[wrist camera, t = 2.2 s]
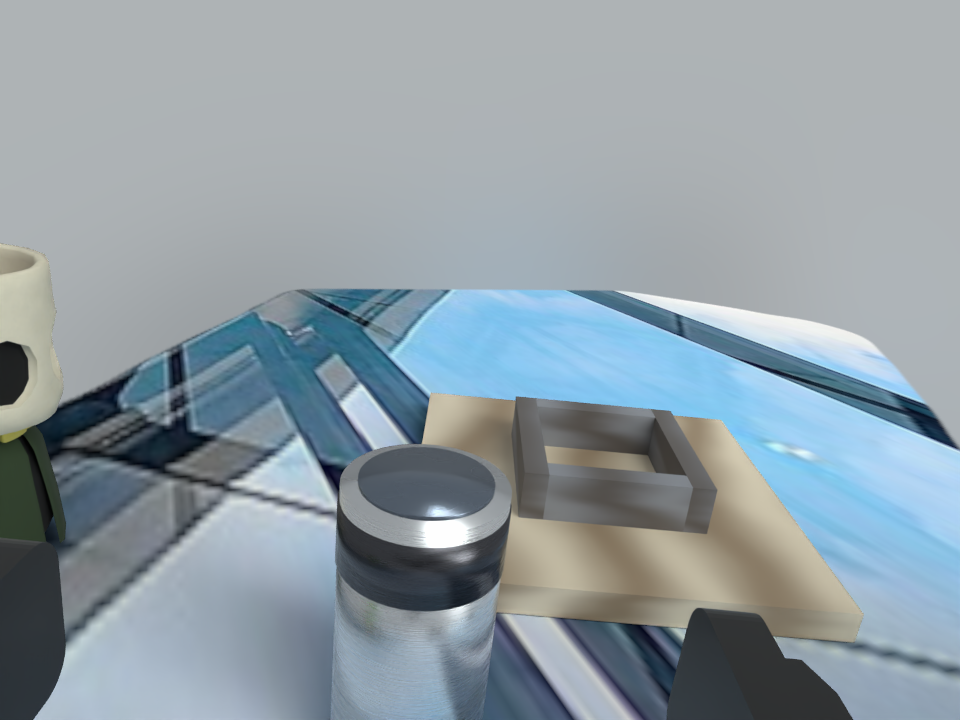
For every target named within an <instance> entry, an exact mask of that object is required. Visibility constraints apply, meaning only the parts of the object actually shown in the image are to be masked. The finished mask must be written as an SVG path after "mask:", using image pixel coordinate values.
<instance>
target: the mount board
mask: <svg viewBox="0 0 960 720" xmlns="http://www.w3.org/2000/svg"><path fill="white" fill-rule="evenodd" d="M422 444H429V445H439V446H446V447H451V448H455V449H459V450H463V451H466V452H469V453H472V454H474V455H477V456H479V457H481V458H483V459H485V460H487V461H489V462H490V463H492V464H493V465H495V466H496V467H497V468H499V469H500V470H501V471H502V472H503V473H504V474H505V476H506V477H507V479H508V480H509V482H510V485H511V489H512V497H511V505H512V508H511V518H510V525H509V533H508V540H507V548H506V555H505V563H504V570H503V573H502V576H501V580H500V588H499V595H498V603H497V611H496V612H499V613H511V614H522V615H534V616H546V617H558V618H570V619H581V620H593V621H605V622H617V623H629V624H641V625H652V626H664V627H676V628H687V627H688V623H689V619H690V617H691V615H692V613H693V611H694V610H695V609H696V608H708V609H718V610H729V611H739V612H749V613H757V614H758V615H760V616H761V617H762V618H763V620H764V622H765V623H766V625H767V627H768V629H769V630H770V632H771V634H772V636H782V637H794V638H806V639H818V640H829V641H841V642H853V643H854V642H855V639H856V636H857V634H858V631H859V628H860V625H861V622H862V619H863V616H864V614H863V613H862V611H861V610H860V608H859V607H858V606H857V604H856V603H855V602H854V600H853V599H852V598H851V596H850V595H849V594H848V592H847V591H846V589H845V588H844V587H843V585H842V584H841V583H840V581H839V580H838V579H837V577H836V576H835V574H834V573H833V572H832V570H831V569H830V568H829V566H828V565H827V564H826V562H825V561H824V560H823V558H822V557H821V555H820V554H819V553H818V551H817V550H816V549H815V547H814V546H813V545H812V543H811V542H810V540H809V539H808V538H807V536H806V535H805V534H804V532H803V531H802V530H801V528H800V527H799V525H798V524H797V523H796V521H795V520H794V519H793V517H792V516H791V515H790V513H789V512H788V511H787V509H786V508H785V506H784V505H783V504H782V502H781V501H780V500H779V498H778V497H777V496H776V494H775V493H774V491H773V490H772V489H771V487H770V486H769V485H768V483H767V482H766V481H765V479H764V478H763V476H762V475H761V474H760V472H759V471H758V470H757V468H756V467H755V466H754V464H753V463H752V462H751V460H750V459H749V457H748V456H747V455H746V453H745V452H744V451H743V449H742V448H741V447H740V445H739V444H738V442H737V441H736V440H735V438H734V437H733V436H732V434H731V433H730V432H729V430H728V429H727V428H726V426H725V425H724V423H723V422H722V421H721V420H715V419H704V418H694V417H683V416H673V414H672V413H671V411H664V410H654V409H643V408H632V407H622V406H611V405H601V404H590V403H579V402H569V401H558V400H548V399H537V398H526V397H516V401H513V400H503V399H492V398H481V397H471V396H460V395H450V394H439V393H431V394H430V400H429V406H428V412H427V418H426V424H425V430H424V435H423V441H422Z"/></svg>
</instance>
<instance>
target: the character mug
mask: <svg viewBox="0 0 960 720" xmlns="http://www.w3.org/2000/svg"><path fill="white" fill-rule="evenodd" d="M55 316H56V308H55V304H54V299H53V293H52V282H51V273H50V267H49V261H48V260H47V258H46V256H45V255H44V254H42V253H40V252H37V251H34V250H31V249H29V248H25V247H19V246H12V245H7V244H2V243H0V538H8V539H18V540H29V541H39V542H46V538H45V533H44V532H46V530H47V528H48V526H49V524H50V521H51V519H52V517H53V515H54V518H55V523H56V527H57V531H58V535H59V540H60V543H61V542H62V541H63V540H64V539H65V529H66V521H65V517H64V512H63V508H62V503H61V499H60V494H59V490H58V485H57V482H56V479H55V475H54V472H53V469H52V465H51V462H50V459H49V455H48V452H47V448H46V445H45V442H44V438H43V435H42V433H41V432H40V431H39V430H38V428H37V427H36V426H35V425H37V424H39V423H41V422H43V421H44V420H46V419H48V418H49V417H50V416H52V415H53V414H54V413H55V412H56V409H57V407H58V404H59V401H60V399H61V396H62V393H63V375H62V371H61V368H60V365H59V362H58V360H57V356H56V354H55V351H54V348H53V343H52V330H53V326H54V321H55Z"/></svg>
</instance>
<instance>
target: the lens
mask: <svg viewBox="0 0 960 720" xmlns="http://www.w3.org/2000/svg"><path fill="white" fill-rule="evenodd" d="M511 497H512V489H511V485H510V482H509V480H508V479H507V477H506V476H505V474H504V473H503V472H502V471H501V470H500V469H499V468H497V467H496V466H495V465H493V464H492V463H490V462H489V461H487V460H485V459H483V458H481V457H479V456H477V455H474V454H472V453H469V452H466V451H463V450H459V449H455V448H451V447H446V446H439V445H429V444H405V445H395V446H389V447H384V448H380V449H377V450H374V451H371V452H368V453H366V454H364V455H362V456H360V457H358V458H357V459H355V460H353V461H352V462H351V463H350V464H349V465H348V466H347V467H346V468H345V470H344V471H343V473H342V475H341V479H340V489H339V493H338V501H337V526H336V551H335V561H336V566H337V569H336V594H335V618H334V643H333V668H332V692H331V717H330V720H482V716H483V709H484V701H485V694H486V686H487V679H488V671H489V663H490V656H491V648H492V641H493V633H494V626H495V618H496V611H497V603H498V595H499V588H500V580H501V576H502V573H503V570H504V563H505V555H506V548H507V540H508V533H509V525H510V518H511V508H512V505H511Z"/></svg>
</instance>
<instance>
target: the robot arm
mask: <svg viewBox="0 0 960 720" xmlns="http://www.w3.org/2000/svg"><path fill="white" fill-rule="evenodd" d="M65 647H66V644H65V630H64V619H63V607H62V596H61V584H60V573H59V561H58V555H57V552H56V549H55V548H54V546H53V545H52V544H50V543H48V542H39V541H29V540H18V539H8V538H0V720H33V719H34V718H35V716H36V715H37V714H38V712H39V711H40V710H41V708H42V707H43V705H44V704H45V703H46V701H47V700H48V698H49V697H50V695H51V693H52V692H53V690H54V688H55V686H56V683H57V681H58V679H59V676H60V673H61V670H62V666H63V662H64V657H65ZM667 720H853V719H852V717H851V715H850V714H849V712H848V710H847V709H846V707H845V705H844V704H843V702H842V700H841V699H840V697H839V696H838V694H837V693H836V692H835V691H834V690H833V689H832V688H831V687H830V686H829V685H828V684H827V683H826V682H824V681H823V680H822V679H821V678H820V677H819V676H818V675H817V674H816V673H815V672H814V671H813V670H812V669H811V668H810V667H808V666H807V665H806V664H805V663H804V662H803V661H802V660H797V659H787V658H784V656H783V654H782V652H781V650H780V649H779V647H778V645H777V643H776V641H775V640H774V638H773V636H772V634H771V632H770V630H769V629H768V627H767V625H766V623H765V622H764V620H763V618H762V617H761V616H760V615H758V614H757V613H749V612H739V611H729V610H718V609H708V608H696V609H695V610H694V611H693V613H692V615H691V617H690V619H689V623H688V627H687V630H686V634H685V638H684V642H683V646H682V650H681V654H680V658H679V662H678V666H677V670H676V674H675V678H674V682H673V686H672V690H671V694H670V698H669V702H668V709H667Z"/></svg>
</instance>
